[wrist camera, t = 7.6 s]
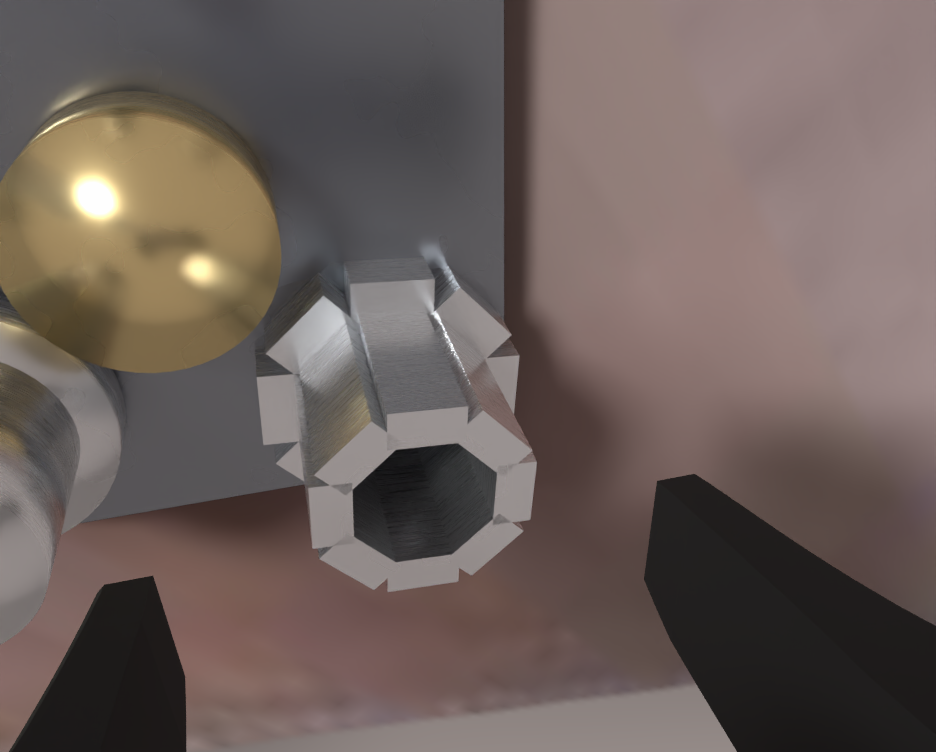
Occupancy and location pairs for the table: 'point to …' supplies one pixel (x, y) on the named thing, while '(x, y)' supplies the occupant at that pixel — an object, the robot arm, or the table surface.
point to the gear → (398, 422)
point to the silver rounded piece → (48, 457)
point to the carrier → (233, 194)
